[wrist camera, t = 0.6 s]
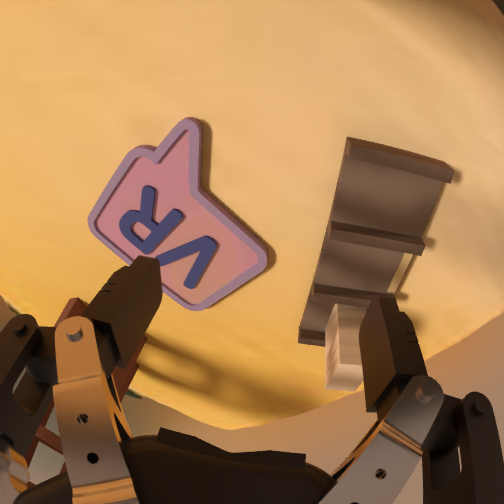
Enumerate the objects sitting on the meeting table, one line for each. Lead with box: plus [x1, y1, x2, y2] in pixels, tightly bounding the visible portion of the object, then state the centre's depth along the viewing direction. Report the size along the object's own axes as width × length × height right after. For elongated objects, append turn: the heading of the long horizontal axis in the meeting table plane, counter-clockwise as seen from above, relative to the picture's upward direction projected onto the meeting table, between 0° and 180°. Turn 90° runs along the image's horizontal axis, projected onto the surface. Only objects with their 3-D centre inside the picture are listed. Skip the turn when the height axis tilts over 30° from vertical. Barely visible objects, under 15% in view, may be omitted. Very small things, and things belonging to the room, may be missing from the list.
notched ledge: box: [298, 137, 454, 346], centre depth 31 cm, size 26×10×2 cm, turn 176°
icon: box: [88, 117, 268, 311], centre depth 33 cm, size 19×2×20 cm
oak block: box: [325, 304, 367, 391], centre depth 33 cm, size 6×4×9 cm, turn 176°
